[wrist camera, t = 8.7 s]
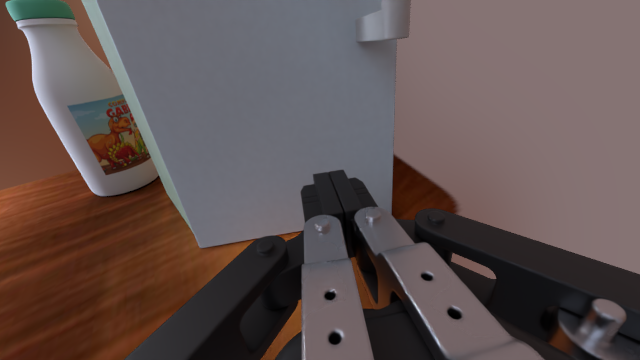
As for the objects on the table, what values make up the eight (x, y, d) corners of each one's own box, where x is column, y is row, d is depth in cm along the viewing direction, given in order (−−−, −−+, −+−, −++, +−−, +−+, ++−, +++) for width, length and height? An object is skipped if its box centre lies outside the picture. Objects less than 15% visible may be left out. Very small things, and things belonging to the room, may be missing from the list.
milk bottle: (87, 205, 30) (-45, -5, 21) (99, 180, 36) (2, 10, 27) (161, 184, 33) (75, -8, 24) (161, 164, 39) (93, 6, 30)
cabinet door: (420, 258, 18) (478, -298, 7) (178, 304, 16) (-144, -287, 6) (387, 209, 23) (395, -154, 13) (203, 240, 22) (51, -133, 12)
